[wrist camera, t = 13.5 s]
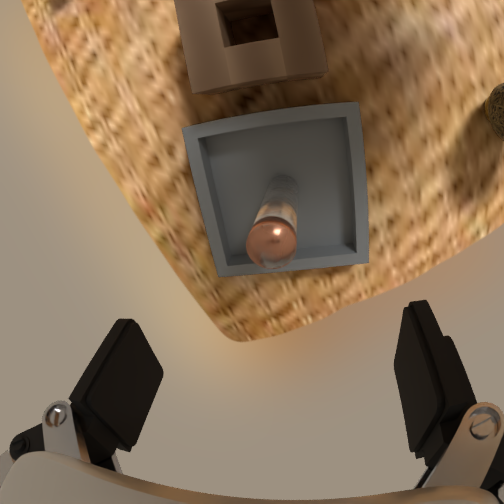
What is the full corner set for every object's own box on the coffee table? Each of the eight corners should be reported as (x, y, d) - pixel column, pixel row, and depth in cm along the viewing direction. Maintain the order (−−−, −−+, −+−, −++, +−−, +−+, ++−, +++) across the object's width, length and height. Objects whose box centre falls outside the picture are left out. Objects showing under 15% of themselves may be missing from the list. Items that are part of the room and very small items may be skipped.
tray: (351, 101, 24) (358, 101, 21) (362, 248, 31) (368, 262, 28) (192, 125, 27) (181, 128, 24) (224, 262, 34) (218, 277, 31)
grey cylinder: (296, 172, 27) (293, 221, 17) (300, 202, 28) (298, 267, 18) (265, 176, 28) (241, 226, 17) (270, 205, 29) (250, 270, 19)
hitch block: (299, -16, 19) (301, -42, 14) (320, 77, 23) (328, 71, 18) (194, 3, 21) (171, -16, 16) (212, 94, 25) (192, 93, 20)
